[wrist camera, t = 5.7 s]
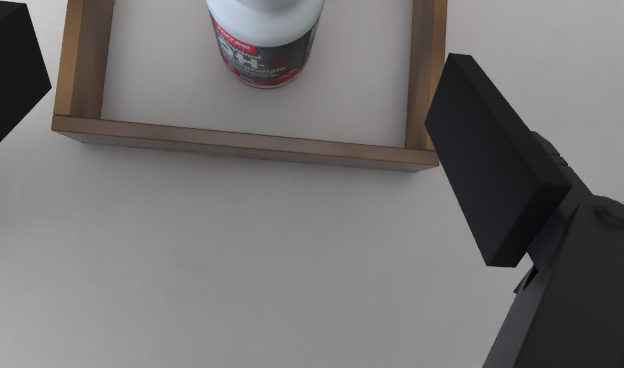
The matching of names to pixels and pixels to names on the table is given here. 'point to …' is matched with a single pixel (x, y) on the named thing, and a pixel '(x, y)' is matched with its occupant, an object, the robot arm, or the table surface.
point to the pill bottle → (265, 37)
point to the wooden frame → (91, 129)
